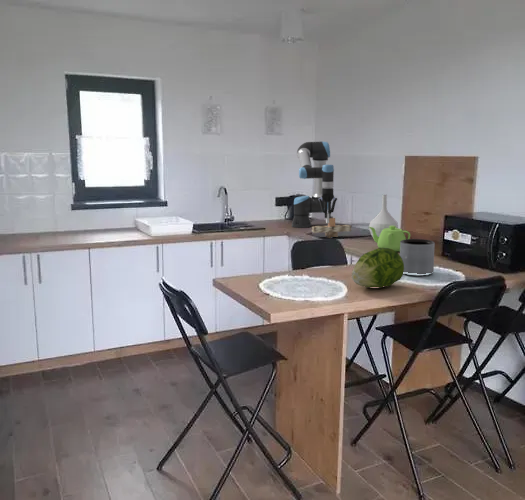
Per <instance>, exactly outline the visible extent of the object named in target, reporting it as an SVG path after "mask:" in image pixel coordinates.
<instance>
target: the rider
mask: <svg viewBox="0 0 525 500" xmlns="http://www.w3.org/2000/svg"><path fill="white" fill-rule="evenodd" d="M335 225H336V217H334V216H332V215H331V217H330V218H329V223H327V226H328V227H332V226H333V227H335Z"/></svg>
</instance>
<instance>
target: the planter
mask: <svg viewBox="0 0 525 500" xmlns="http://www.w3.org/2000/svg"><path fill="white" fill-rule="evenodd" d="M435 244H436V243H435V241H433V240H430V239H425V238H423V239H421V238H410V239H408V238H406V239H405V240H402V241H400V251H399V255H400V256H401V258H402V260H403V263H404V272H408V273H417V274H426V273H432V272H433V273H434V271H435V270H434V268H435V267H434V266H435ZM433 273H432V274H433Z"/></svg>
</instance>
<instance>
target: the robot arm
mask: <svg viewBox="0 0 525 500" xmlns="http://www.w3.org/2000/svg"><path fill="white" fill-rule="evenodd" d="M330 149H331V148H330V145H329V142H328V141H307V142H304V143H302V144H301V145H299V147H298V148H297V151H296V156H297V158H298V159H299V164H300V167H299V169H298V177H299V178H300V179H304V180H305V179H314V180H313V193H312V194H311V197H310V195H302V196H301V195H300V196H297V197H294V200H293V219H292V222H291V228H296V229H297V228H299V229H302V228H303V229H305V228H312V222H311V218H310V214H312V213H313V214H314V213H315V214H317V213H318V214H319V213H320V214H322V213H324V219H325V224H328V223H329V218H330V217H331V216H332V215H331V214H332V213H334V212H335V206H336V203H337V200H338V198H337V197H335V195H334V175H335V173H334V171H335V168H334V164H327V162H328V160H329V158H331V150H330ZM311 159H312V161H313V163H314V167H313V165H312V162H311Z"/></svg>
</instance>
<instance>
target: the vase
mask: <svg viewBox="0 0 525 500" xmlns="http://www.w3.org/2000/svg"><path fill="white" fill-rule="evenodd" d="M387 196H388V195H387V194H382V196H381V209H380V211H379V212H378V214H377V215H376V216H374V218H373V219H372V220H370V222H369V225H368V230H369V233H370V236H371V237H372V238H373V233H372V230H371V229H370V228H369V227H373V228H374V229H375V231H376V235H377V236H378V237H379V236H380V234H381V232H382V230H383V229H385V228H390V227H389V226H396V228H399V224H398V221H397V220H396V219H395V218H394V217H393V216H392V215H391V213H390V212H389V211H388V209H387V208H388V207H387V204H388V203H387V202H388V201H387V199H388V198H387Z"/></svg>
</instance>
